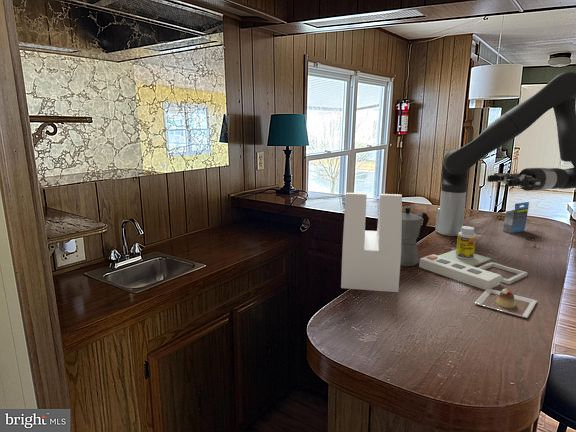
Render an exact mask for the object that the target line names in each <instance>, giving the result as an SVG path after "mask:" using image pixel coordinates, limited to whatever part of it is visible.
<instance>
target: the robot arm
mask: <svg viewBox="0 0 576 432" xmlns="http://www.w3.org/2000/svg"><path fill="white" fill-rule="evenodd" d="M551 109H552V110H553V112H554V116H555V121H556V131H557V142H558V148H559V149H558V150H559V157H560V160H561V161H562V162H567V163H568V162H570V163H571V164H572V166H573V167H571V168H565V169H562V168H561V167H560V168H557V167H556V168H555V167H549V168H548V167H527V168H524V169H522V170H521V171H520V172H515V173H510V172H501V173H500V172H499V173H497V172H494V173H493V174H488V175H487V179H486V181H487V182H488V183H493V182H494V183H495V182H496V183H503V184H504V185H506V186H507V187H518V188H520V189H521V190H523V191H525V192H526V191H527V192H529V191H531V192H532V191H533V192H534V191H545V190H555V189H559V190H560V189H562V190H567V189H568V190H570V189H576V72H574V71H565V72H562V73H561V72H560V73H559V74H557V75H555V77H554V78H552V79H551V80H550V81H549V82H547V84H546V85H544V86H543V87H542V88H540V89H539V90H538V91H536V93H535V94H533V95H531V96H530V97H528V98H527V99H526V100H524V101H522V102H520V103H518V104H517V105H515V106H514V107H512V108H511V109H509V110H508V111H507V112H505V113H504V114H502V115H500V116H499V117H498V118H496V119H495V120H494V121H493V122H491V123H490V124H489V125H488V126H487V127H485V129H483V130H482V132H480V134H479V135H478V136H476V137H475V138H474V139H472V141H470V142H468V143H466V144H464V145H463V146H461V147H459V148H456V149H455V148H453V149H451V150H449V151H447V153H445V155H444V157H443V160H442V171H441V188H440V189H441V190H440V200H439V208H437V211H436V217H435V218H436V219H435V231H434V232H436V233H438V234H440V235H444V236H450V237H458V233H459V232H461V227H462V226H464V225H463V224H464V216H465V211H466V210H465V207H466V200H467V199H466V197H467V190H468V189H467V188H468V179H467V177H468V170H470V169H471V168H472V167H473V166H474V165H476V163H478V162H479V161H481V160H482V159H483V158H484V157H486V156H487V155H488V154H490V153H492V152H493V151H495V150H497V149H499V148H501V147H502V146H504V145H505V144H507V143H508V142H510V141H511V140H513V139H515V138H516V137H517V136H520V134H522V133H524V132H525V131H526V130H527V129H528V128H530V127H531V126H532V125H533V124H535V123H536V122H537V121H538V120H539V119H540V118H541V117H542V116H543V115H544V114H546V113H547V112H548V111H550V110H551Z"/></svg>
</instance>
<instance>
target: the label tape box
mask: <svg viewBox="0 0 576 432" xmlns="http://www.w3.org/2000/svg"><path fill="white" fill-rule="evenodd" d="M529 206H530V202H529V201H527V202H525V201H524V202H519V203H518V202H516V203H514V209H512V210H508V211H505V215H504V221H503V222H504V223H503V230H502V231H503V232H505V233H507V234H508V233H509V234H514V233H518V232H519V233H520V232H523V231H525V229H526V224H527V220H528V219H527V218H528V212H529V208H530V207H529Z"/></svg>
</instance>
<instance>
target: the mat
mask: <svg viewBox="0 0 576 432" xmlns="http://www.w3.org/2000/svg"><path fill="white" fill-rule="evenodd" d="M438 256H441V257H444V258H447V259H451V260H454V261H457V262H460V263H463V264H467V265H470V266H473V267H476V266H480V265H481V264H483V263H487V262H489V261H491V259H492V258H490V257H488V256H483V255H480V254H477V253H474V257H473V258H472V259H461V258H458V257H457V256H456V249H453V250H450V251H447V252H445V253H441V254H439V255H438Z"/></svg>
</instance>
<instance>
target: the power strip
mask: <svg viewBox="0 0 576 432" xmlns="http://www.w3.org/2000/svg"><path fill="white" fill-rule="evenodd" d="M418 264H419V266H418V268H420V269H424V270H426V271H430V272H432V273H434V274H435V273H436V274H438V275H441V276H444V277H447V278H450V279H451V280H452V279H453V280H455V281H459V282H461V283H464V284H467V285H469V286H472V287H475V288H478V289H481V290H484V291H485V290H486V289H488V288H489V289H494V288H496V287H498V286H500V285H501V282H500V281H501V277H502V275H501V274H499V273H497V272H496V273H495V272H492V271H489V270H487V269H485V270H483V269H480V268H478V267H476V266H474V267H473V266H470V265H467V264H463V263H460V262H457V261H454V260H451V259H447V258H444V257H441V256H438V255H437V254H434V253H433V254H430V255H426V256H423V257H421V258H419V262H418Z"/></svg>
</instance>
